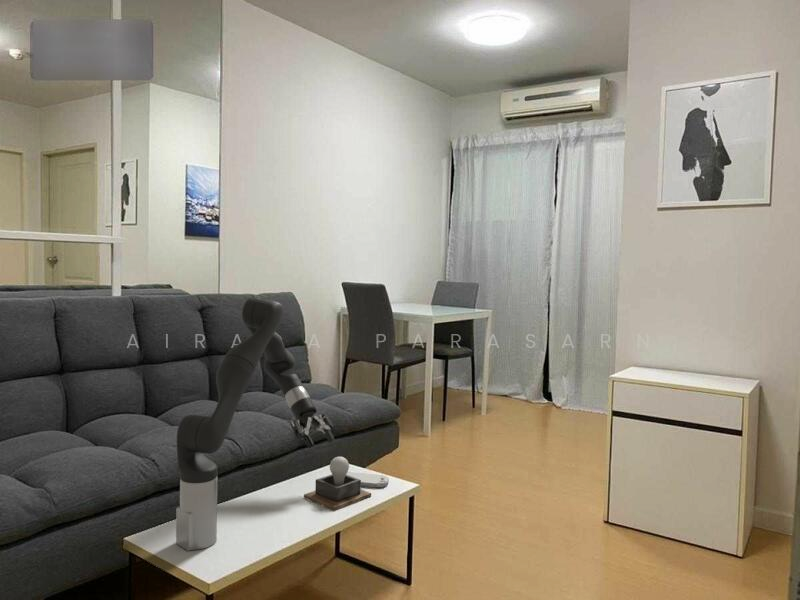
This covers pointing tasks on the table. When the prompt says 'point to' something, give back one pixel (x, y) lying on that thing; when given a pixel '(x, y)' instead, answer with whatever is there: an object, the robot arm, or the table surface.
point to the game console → (370, 479)
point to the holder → (337, 492)
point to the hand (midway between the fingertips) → (322, 444)
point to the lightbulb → (339, 469)
